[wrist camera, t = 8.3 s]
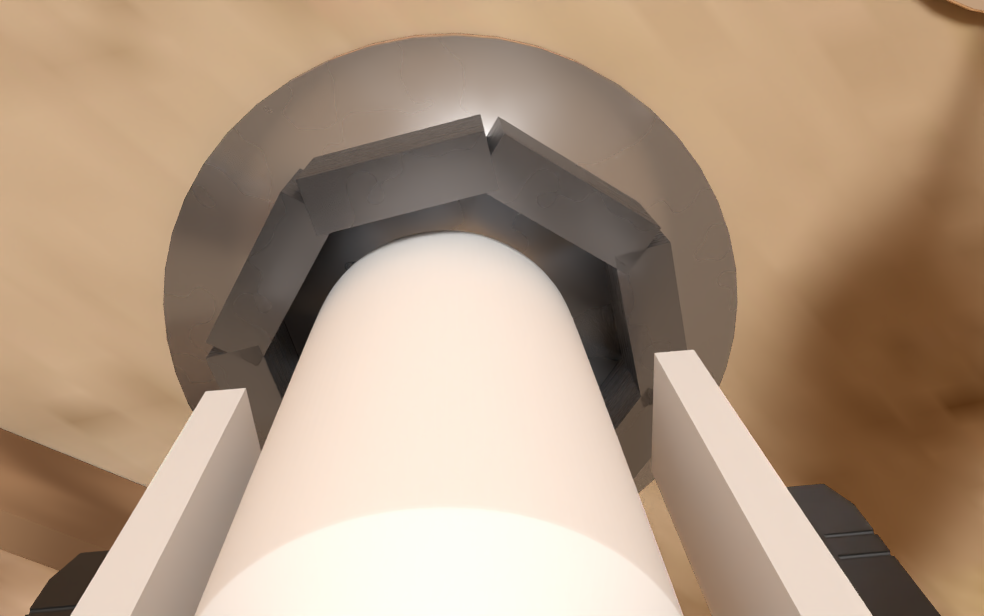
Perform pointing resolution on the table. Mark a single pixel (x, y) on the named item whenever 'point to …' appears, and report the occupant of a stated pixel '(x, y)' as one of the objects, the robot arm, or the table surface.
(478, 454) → the beverage can
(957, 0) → the wineglass
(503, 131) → the hub collar
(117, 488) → the walnut cradle
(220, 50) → the table surface
